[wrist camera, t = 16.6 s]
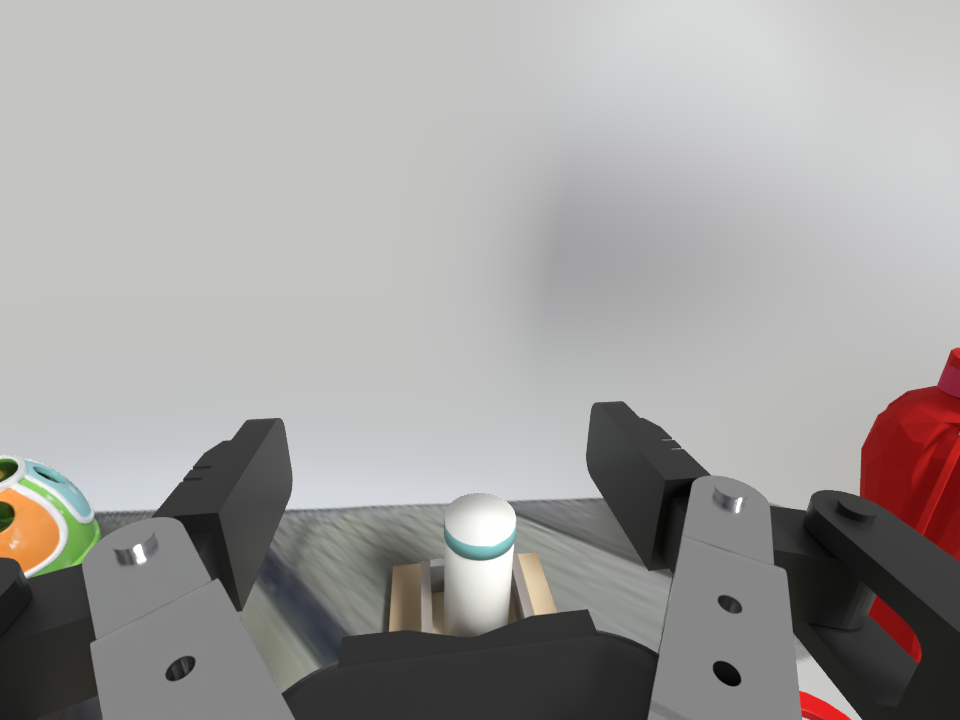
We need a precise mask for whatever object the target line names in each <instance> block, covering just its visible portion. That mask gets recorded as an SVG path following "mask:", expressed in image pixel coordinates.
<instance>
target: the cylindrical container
mask: <svg viewBox="0 0 960 720" xmlns="http://www.w3.org/2000/svg"><path fill="white" fill-rule="evenodd" d="M515 532H516V516H515V512H514V510H513V508H512V507H511V506H510V505H509V504H508V503H507V502H506V501H505V500H503V499H501V498H499V497H497V496H494V495H489V494H483V493H476V494H475V493H474V494H468V495H464V496H461V497H459V498H457V499H456V500H454V501H453V502H452V503H451V504H450V505H449V506H448V507H447V509H446V512H445V517H444V539H445V562H444V630H445V635H450V636H457V637H466V638H471V637H476V636H479V635H482V634H484V633H487V632H490V631H492V630H495V629H497V628H500V627H503V626H505V625H508V617H509V604H510V590H511V577H512V564H513V550H514V541H515Z"/></svg>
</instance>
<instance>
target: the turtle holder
mask: <svg viewBox="0 0 960 720" xmlns="http://www.w3.org/2000/svg"><path fill="white" fill-rule="evenodd" d="M94 515H95V513H94V509H93V507H92V506H91V504H90V503H89V502H88V501H87V500H86V499H85V497H84V496H83V494H82V493H81V492H80V490H79V489H78V488H77V487H76V486H75V485H74V484H73V483H72V482H70V481H69V480H68V479H67V478H66V477H64V476H63V475H61V474H60V473H58V472H56V471H55V470H54V469H53V468H51V467H50V466H48V465H46V464H43V463H41V462H38V461H35V460H31V459H26V458H21V457H19V456H16V455H11V454H6V455H0V557H4V558H11V559H14V560H16V561H18V563H19V564H20V566H21V568H22V570H23V573H24V575H25V577H26V579H28V578H31V577H35V576H38V575H42V574H46V573H49V572H53V571H56V570H60V569H64V568H67V567H71V566H75V565H78V564H81V563H83V560H84V557H85V556H86V554H87V553H88V551H89V550H90V549H91V548H92V547H93V546H94V545H95V544H96V543H97V542H99V541H100V540H101V531H100V527H99V524H98V522H97V521H96V520H95V519H94Z"/></svg>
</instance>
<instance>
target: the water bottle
mask: <svg viewBox="0 0 960 720" xmlns="http://www.w3.org/2000/svg"><path fill="white" fill-rule="evenodd" d="M860 497H862V498H865V499H867V500H869V501H871V502H874V503H876V504H878V505H879V506H881V507H883V508H884V509H886V510H887V511H889V512H890V513H892V514H893V515H895V516H896V517H897V518H899V519H900V520H902V521H903V522H904V523H906V524H907V525H909V526H910V527H911V528H913V529H914V530H916V531H917V532H918V533H920V534H921V535H923V536H924V537H925V538H927V539H928V540H930V541H931V542H932V543H934V544H935V545H937V546H938V547H939V548H941V549H942V550H944V551H945V552H946V553H948V554H949V555H951V556H952V557H953V558H955V559H956V560H958V561H959V562H960V348H955V349H953V350H951V352H950V355H949V357H948V360H947V363H946V365H945V368H944V370H943V372H942V375H941V377H940V380H939V382H938V386H932V387H927V388H922V389H916V390H911V391H907V392H906V393H904V394H903V395H902V396H900V397H899V398H898V399H896V400H894V401H893V402H892V403H890V404H889V405H888V407H887V409H886V410H885V411H883V412H882V413H880V414H879V415H878V416H877V418H876V421H875V422H874V424H873V427H872V428H871V431H870V432H869V434H868V437H867V439H866V441H865V443H864V445H863V447H862V451H861V479H860ZM868 615H869V616H870V617H872V618H873V619H874V620H875V621H876V622H877V623H878V624H879V625H880V626H881V627H882V628H883V629H884V630H885V631H886V632H887V633H888V634H889V635H890V636H891V637H892V638H893V639H894V640H895V641H896V642H897V643H898V644H899V645H900V646H901V647H902V648H903V649H904V650H905V651H906V652H907V653H908V654H909V655H910V656H911V657H912V658H913V659H914V660H915V661H916V662H917V663H918V664H919V662H920V660H921V655H922V653H921V647H920V643H919V641H918V638H917V637H916V635H915V633H914V632H913V630H912V629H911V627H910V626H909V625H908V624H907V623H906V622H905V621H904V620H903V619H902V618H901V617H900V616H899V615H898V614H897V613H895V612H894V611H893V610H892V609H891V608H890V607H889V606H888V605H887V604H886V603H885V602H884V601H883V600H881V599H880V598H879V597H878V596H877V595H876V598H875V600H874V602H873V604H872V607H871V609H870V611H869V614H868Z"/></svg>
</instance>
